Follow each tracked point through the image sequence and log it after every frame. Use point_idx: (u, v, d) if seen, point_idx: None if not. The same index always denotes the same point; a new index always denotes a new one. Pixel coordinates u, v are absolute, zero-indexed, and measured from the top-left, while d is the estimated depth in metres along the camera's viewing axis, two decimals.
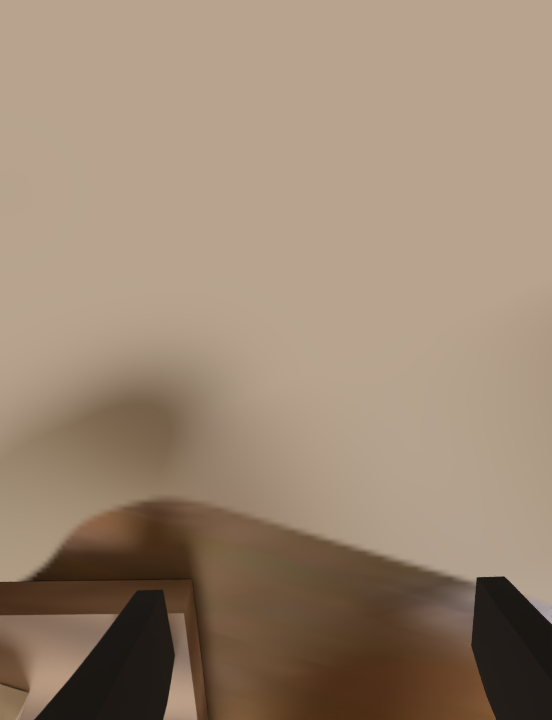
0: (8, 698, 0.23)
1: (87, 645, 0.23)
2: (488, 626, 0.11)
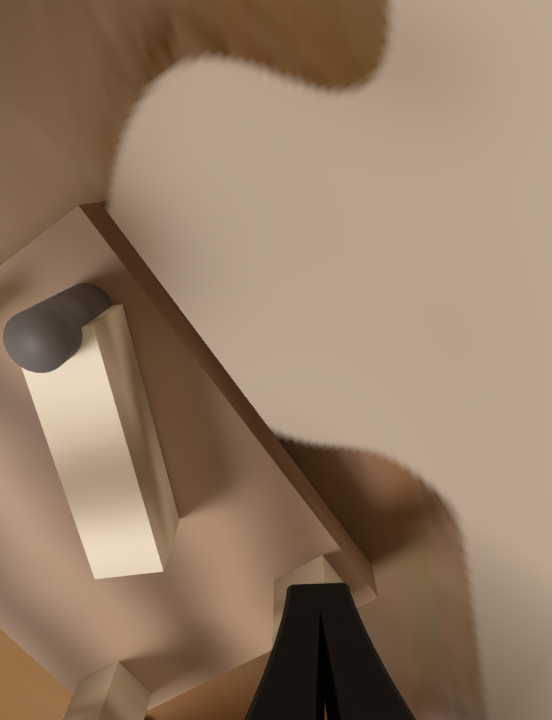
0: (172, 512, 0.20)
1: (282, 542, 0.21)
2: (320, 632, 0.11)
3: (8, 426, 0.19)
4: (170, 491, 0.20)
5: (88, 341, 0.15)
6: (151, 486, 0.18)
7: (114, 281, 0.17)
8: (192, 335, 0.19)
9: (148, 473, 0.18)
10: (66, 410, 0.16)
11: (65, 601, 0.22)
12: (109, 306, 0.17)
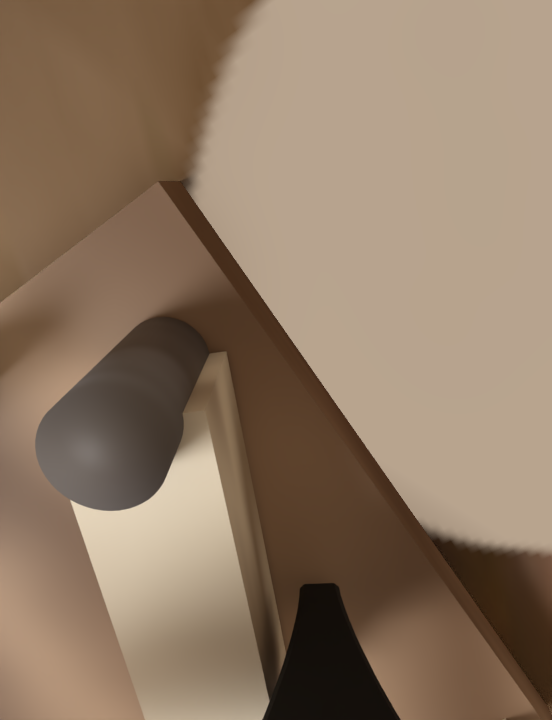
0: None
1: (446, 702, 0.14)
2: None
3: (30, 538, 0.12)
4: (281, 635, 0.13)
5: (194, 437, 0.08)
6: (271, 655, 0.11)
7: (214, 314, 0.10)
8: (322, 392, 0.12)
9: (267, 634, 0.10)
10: (143, 555, 0.09)
11: None
12: (206, 355, 0.10)
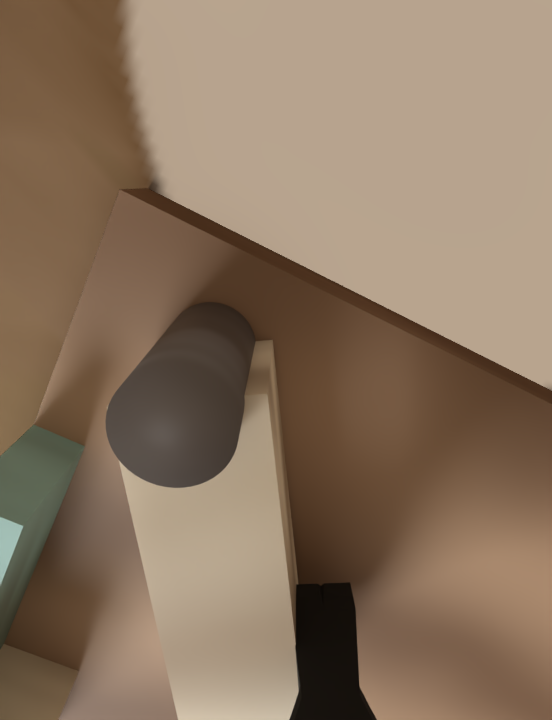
0: None
1: None
2: None
3: None
4: None
5: (253, 420, 0.08)
6: None
7: (230, 280, 0.10)
8: (375, 306, 0.12)
9: None
10: (190, 536, 0.09)
11: None
12: (254, 343, 0.10)
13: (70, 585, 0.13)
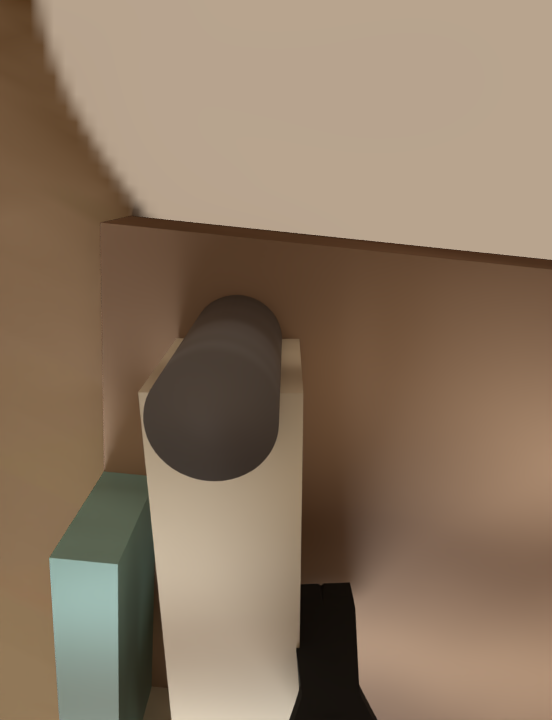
0: None
1: None
2: None
3: None
4: None
5: (285, 419, 0.08)
6: None
7: (232, 270, 0.10)
8: (386, 245, 0.11)
9: None
10: (206, 530, 0.08)
11: None
12: (281, 341, 0.10)
13: None
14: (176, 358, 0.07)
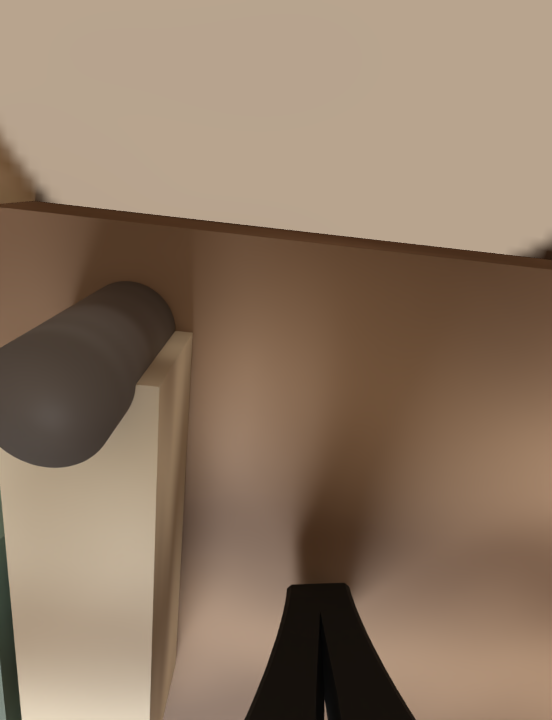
0: (172, 658, 0.12)
1: None
2: (321, 632, 0.11)
3: (202, 557, 0.12)
4: (176, 624, 0.12)
5: (141, 411, 0.08)
6: (163, 642, 0.10)
7: (121, 255, 0.10)
8: (290, 232, 0.11)
9: (164, 621, 0.10)
10: (59, 517, 0.08)
11: (476, 702, 0.14)
12: (172, 332, 0.10)
13: None
14: None
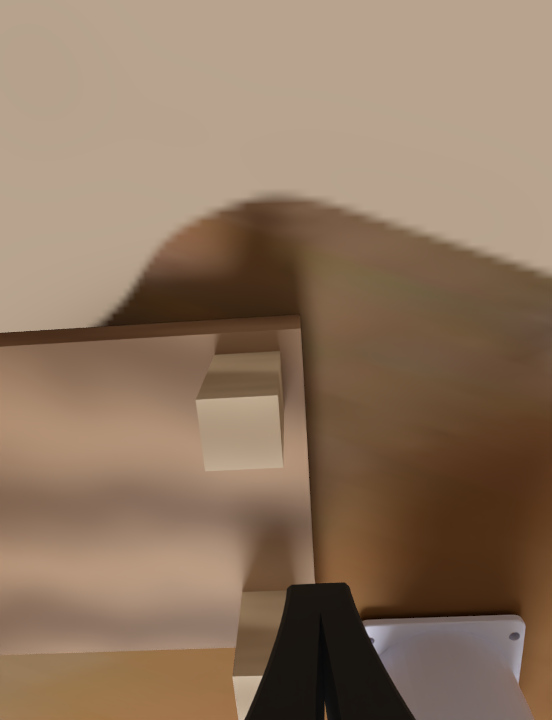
0: None
1: (180, 383, 0.19)
2: (320, 632, 0.11)
3: None
4: None
5: None
6: None
7: None
8: None
9: None
10: None
11: (151, 589, 0.22)
12: None
13: None
14: None
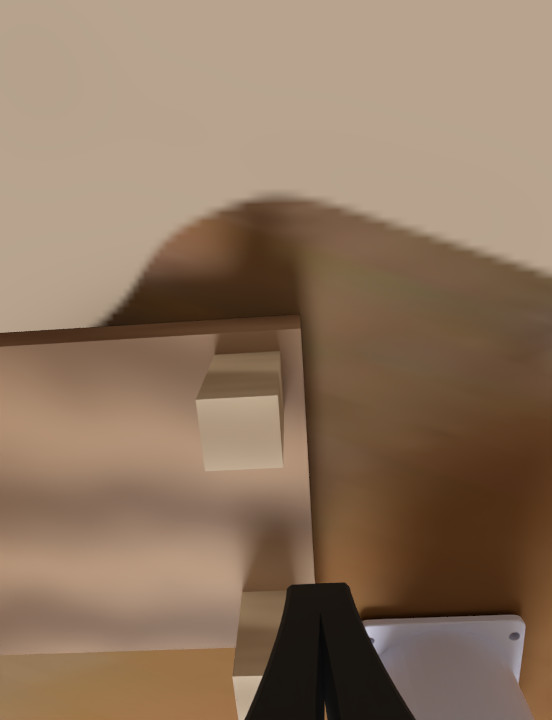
0: None
1: (180, 383, 0.19)
2: (321, 632, 0.11)
3: None
4: None
5: None
6: None
7: None
8: None
9: None
10: None
11: (151, 589, 0.22)
12: None
13: None
14: None
